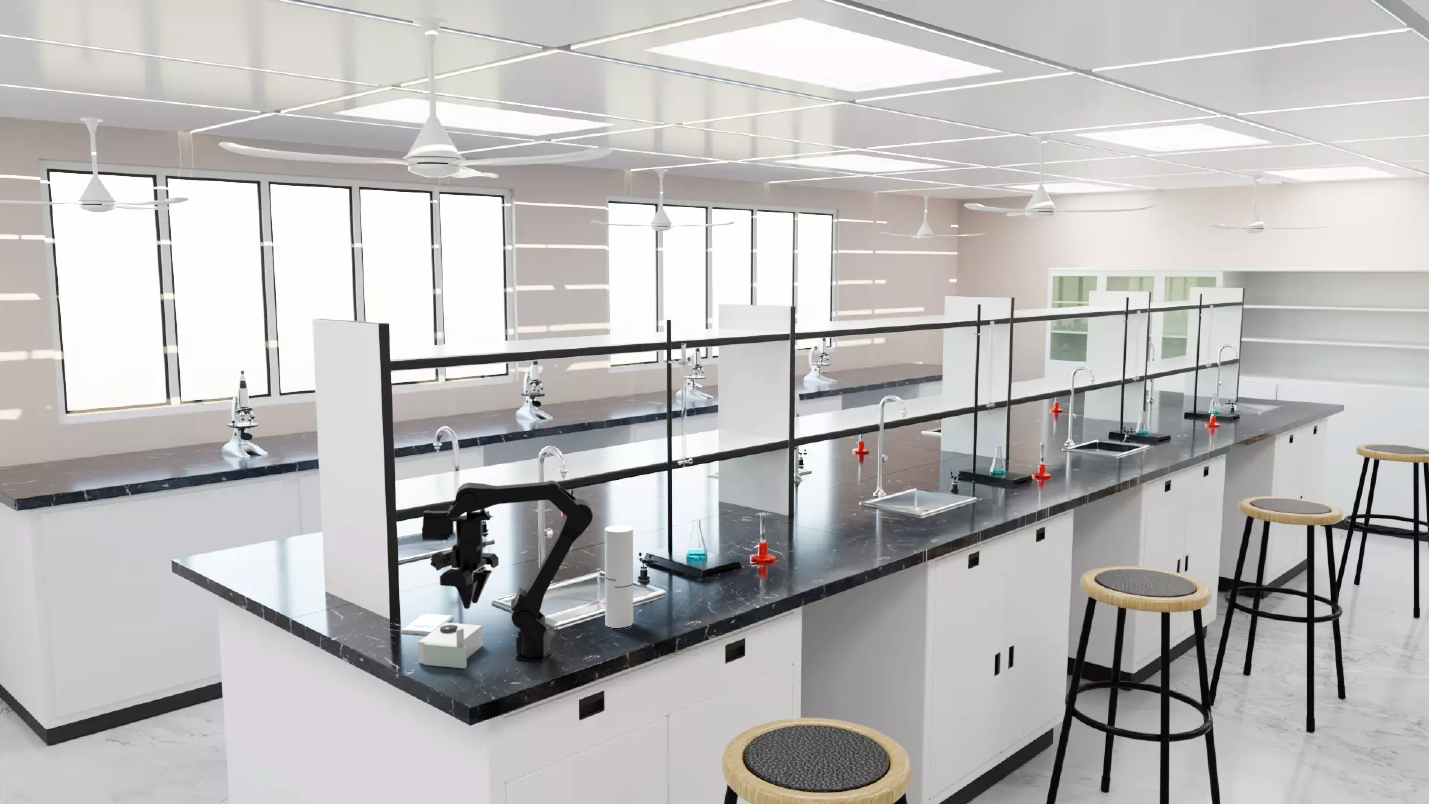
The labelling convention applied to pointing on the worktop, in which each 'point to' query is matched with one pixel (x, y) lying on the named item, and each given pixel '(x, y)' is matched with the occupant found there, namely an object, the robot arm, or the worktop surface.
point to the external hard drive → (426, 624)
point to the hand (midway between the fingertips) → (470, 605)
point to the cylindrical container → (618, 576)
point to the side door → (446, 653)
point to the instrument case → (453, 638)
